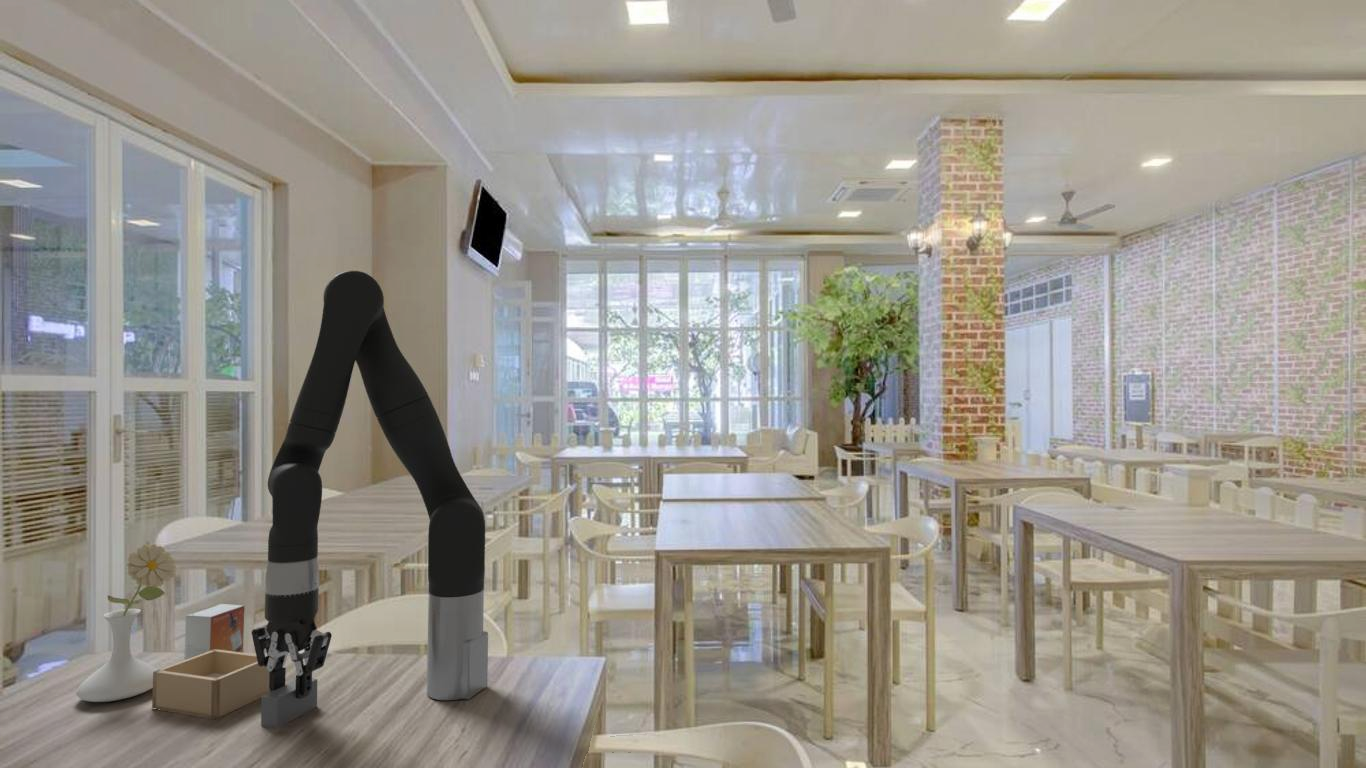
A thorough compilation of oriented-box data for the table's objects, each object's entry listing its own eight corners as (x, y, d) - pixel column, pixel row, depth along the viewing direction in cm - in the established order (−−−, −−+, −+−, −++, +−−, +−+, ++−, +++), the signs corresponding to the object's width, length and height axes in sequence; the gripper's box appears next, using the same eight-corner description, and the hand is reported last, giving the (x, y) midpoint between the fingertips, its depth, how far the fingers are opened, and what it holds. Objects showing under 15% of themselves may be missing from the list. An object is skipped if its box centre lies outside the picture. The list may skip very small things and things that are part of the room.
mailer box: (273, 691, 121) (273, 656, 121) (214, 719, 111) (215, 680, 111) (214, 683, 125) (214, 649, 125) (152, 709, 114) (153, 671, 114)
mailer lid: (353, 711, 116) (354, 678, 116) (295, 745, 104) (295, 708, 105) (284, 701, 120) (285, 669, 120) (221, 733, 108) (222, 697, 108)
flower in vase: (86, 715, 112) (91, 556, 112) (67, 697, 119) (72, 547, 119) (182, 689, 122) (186, 544, 123) (160, 673, 129) (163, 536, 130)
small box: (208, 675, 128) (210, 617, 129) (183, 672, 130) (184, 615, 130) (244, 659, 136) (245, 604, 137) (219, 657, 137) (221, 603, 138)
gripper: (346, 584, 114) (344, 691, 114) (276, 578, 118) (273, 681, 118) (310, 596, 107) (308, 710, 107) (236, 589, 111) (233, 699, 111)
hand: (290, 694), depth 112 cm, fingers open, 4 cm apart
